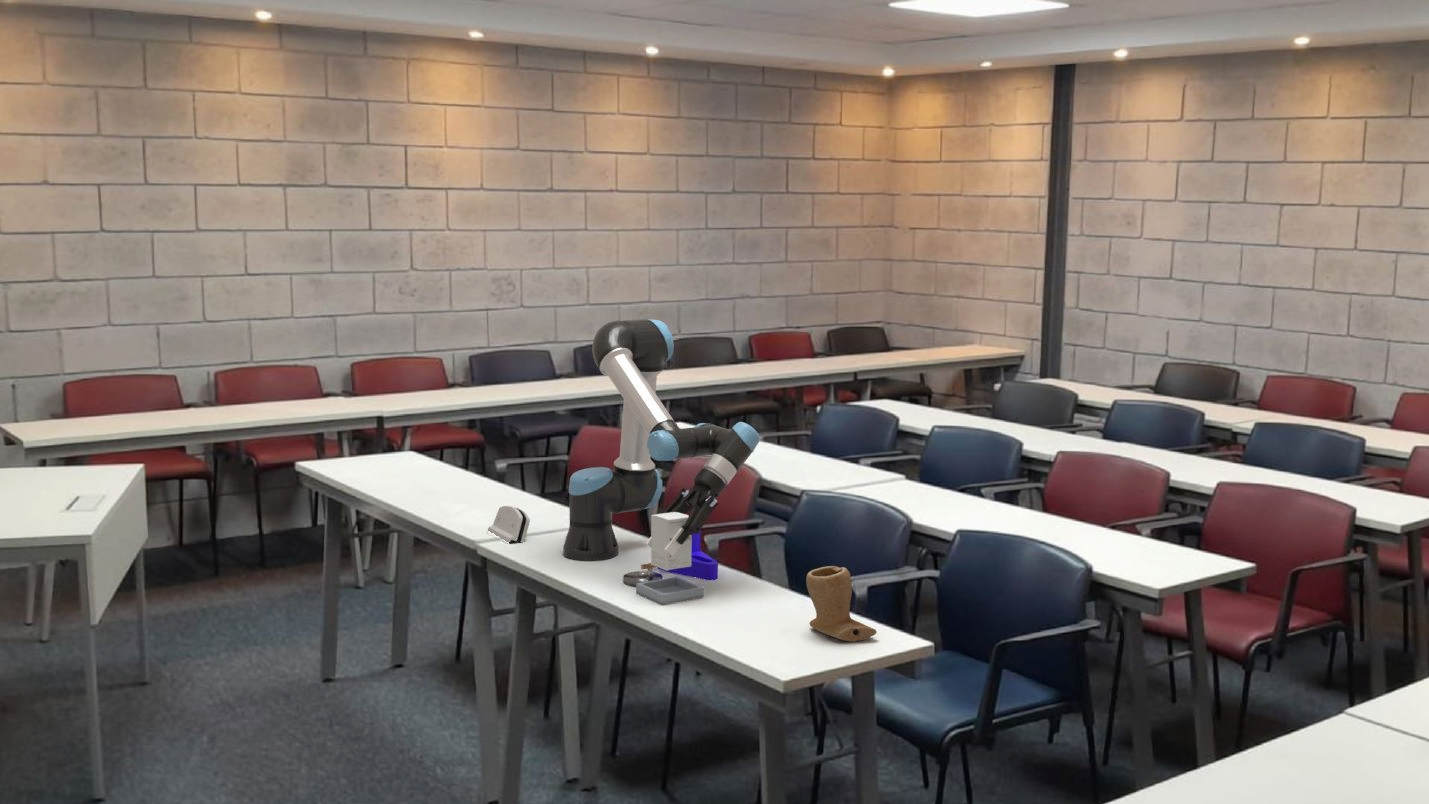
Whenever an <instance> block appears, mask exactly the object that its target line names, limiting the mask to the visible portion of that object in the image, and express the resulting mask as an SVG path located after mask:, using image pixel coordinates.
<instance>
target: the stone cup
mask: <svg viewBox="0 0 1429 804" xmlns="http://www.w3.org/2000/svg"><path fill="white" fill-rule="evenodd" d="M852 584H853V583H852V578H851V573H850V571H849V570H848V568H846V567H844V566H842V567H839V566H835V565H830V566H821V567H819V568H815V569H812V570H810V571H809V572H808V573H807V574H806V589H807V591H808V594H809V597H810V600H811V602H812V604H813V607H814V610H815V613H816V616H815V618H814V619H811V620H810V621H809V626H810V627H811V628H813V629H814V630H816V631H817V632H821V633H822V634H825V635H828V636H829V637H830V636H831V637H833V638H835V639H839V640H842V641H846V642H851V643H853V642H860V641H864V640H867V639H870V638H871V637H873V636H875V635H876V634H877V633H878V630H876V629H875V628H873V627H870V626H868V625H866V624H864V623H863V622H860V621H857V620H855V619H853V618H852V617H851V613H850V609H851V608H850V607H851V600H852V594H853V588H852V587H853V586H852Z"/></svg>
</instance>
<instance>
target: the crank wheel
mask: <svg viewBox="0 0 1429 804" xmlns="http://www.w3.org/2000/svg"><path fill="white" fill-rule="evenodd" d="M655 568H657V567H656V566H653V565H651V562H650V563H643V564H640V569H641V570H642V571H641V570H638V571H630V572H627V573H625V574H623V578H622V581H623V584H624V585H626V586H628V587H633V588H636V584H637V583H642V582H648V581H654V580H660V579H664V575H663V574H662V573H660V572H657V571H654V569H655Z"/></svg>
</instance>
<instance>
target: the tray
mask: <svg viewBox="0 0 1429 804" xmlns="http://www.w3.org/2000/svg"><path fill="white" fill-rule="evenodd" d="M635 594H637V595H638V594H639V595H638V596H640V597H643V598H645V597H646V598H645V599H648V600H650V601H652V602H654V603H657V604H659V605H661V606H666V605H671V604H676V603H677V604H678V603H682V602H688V601H693V600H698V599H703V598H702V597H704V598H705V586H701V585H700V584H696V583H694V582H691V581H689V580H686V579H684V578H681V577H679V576H673V577H667V578H666V577H665V578H663V579H660V580H654V581H648V582H642V583H637V584H636V587H635ZM687 600H688V601H687Z"/></svg>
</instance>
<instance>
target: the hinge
mask: <svg viewBox="0 0 1429 804" xmlns="http://www.w3.org/2000/svg"><path fill="white" fill-rule="evenodd" d="M530 519H531V518H530V517H529V515H528V514H527V513H526V512H525V511H524V510H522V509H520V508H519V507H515V506H511V505H504V506H500V507H499V508H498V510H497V512H496V516H495V518H494V520H493V523H492V525H490V526H489V527H488V528H487V530H488V531H490V532H491V533H494V534H495V535H496V536H499V537H500V538H501V539H504V540H505V541H506V542H510V543H511V541H515V542H519V541H520V542H519V543H522V542H524V543H525V541H526V537H527V534H528V530H529V526H530ZM517 540H519V541H517Z"/></svg>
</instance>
